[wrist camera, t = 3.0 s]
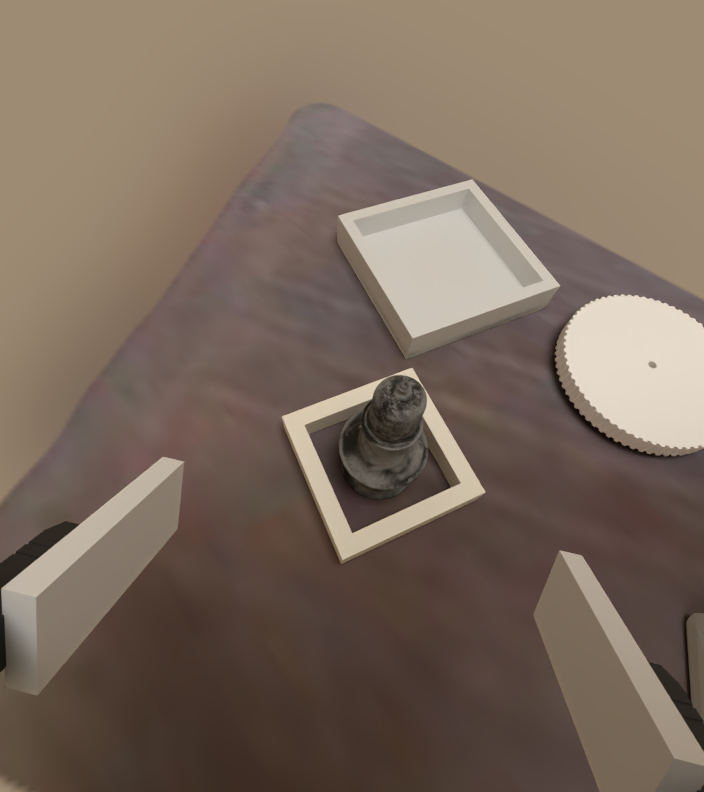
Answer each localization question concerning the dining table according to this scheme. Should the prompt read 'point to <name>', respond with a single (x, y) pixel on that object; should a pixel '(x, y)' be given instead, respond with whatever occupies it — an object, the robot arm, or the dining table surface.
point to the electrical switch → (696, 660)
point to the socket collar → (402, 522)
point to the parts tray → (442, 266)
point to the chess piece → (386, 440)
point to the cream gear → (636, 373)
